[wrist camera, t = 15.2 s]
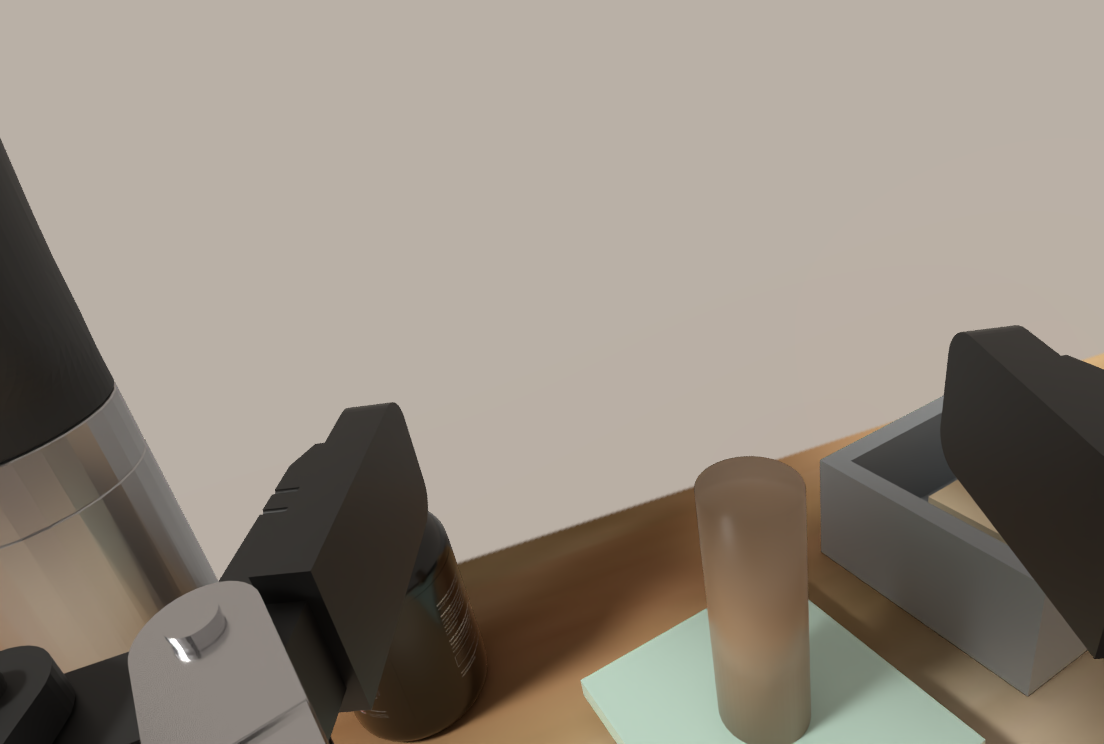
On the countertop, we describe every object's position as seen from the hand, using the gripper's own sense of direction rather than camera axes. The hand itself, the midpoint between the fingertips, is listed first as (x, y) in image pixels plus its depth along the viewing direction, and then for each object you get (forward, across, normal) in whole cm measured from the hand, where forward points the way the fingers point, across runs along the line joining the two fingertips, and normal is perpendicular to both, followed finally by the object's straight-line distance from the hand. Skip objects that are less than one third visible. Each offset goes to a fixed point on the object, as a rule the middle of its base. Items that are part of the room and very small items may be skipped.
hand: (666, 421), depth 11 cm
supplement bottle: (+14, +13, +23) cm, 30 cm away
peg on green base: (+10, -3, +23) cm, 25 cm away
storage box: (+18, -16, +22) cm, 33 cm away
